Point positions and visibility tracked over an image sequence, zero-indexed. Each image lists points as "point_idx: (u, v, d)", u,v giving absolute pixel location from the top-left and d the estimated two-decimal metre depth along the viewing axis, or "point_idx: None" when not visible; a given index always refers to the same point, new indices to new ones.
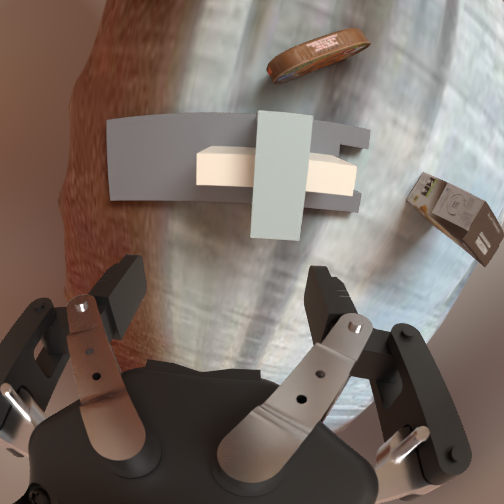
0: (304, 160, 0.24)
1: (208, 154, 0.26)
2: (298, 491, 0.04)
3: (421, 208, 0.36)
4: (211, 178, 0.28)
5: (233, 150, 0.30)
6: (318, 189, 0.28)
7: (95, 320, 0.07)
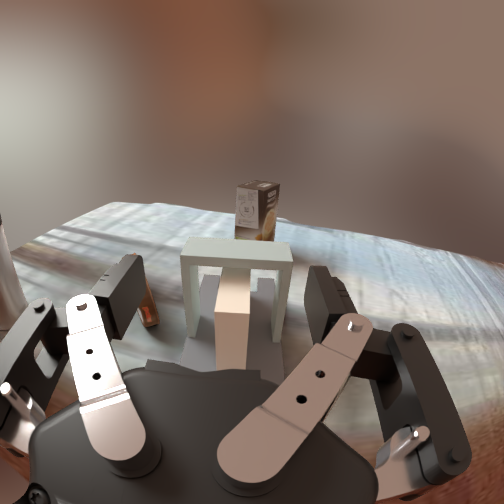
0: (223, 240, 0.34)
1: (216, 304, 0.27)
2: (298, 491, 0.04)
3: None
4: (242, 303, 0.27)
5: None
6: None
7: (95, 320, 0.07)
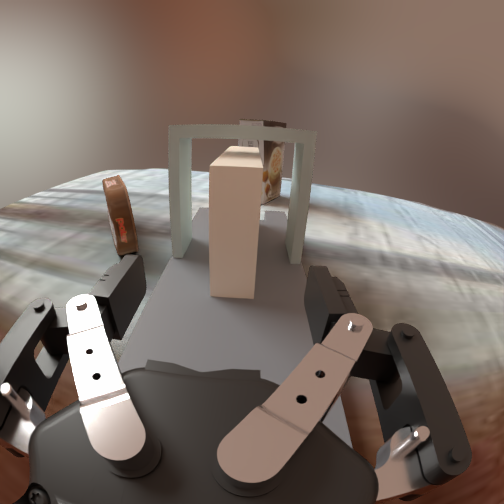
0: None
1: (213, 163, 0.18)
2: (298, 491, 0.04)
3: (264, 179, 0.49)
4: (251, 163, 0.18)
5: None
6: (255, 150, 0.28)
7: (95, 320, 0.07)
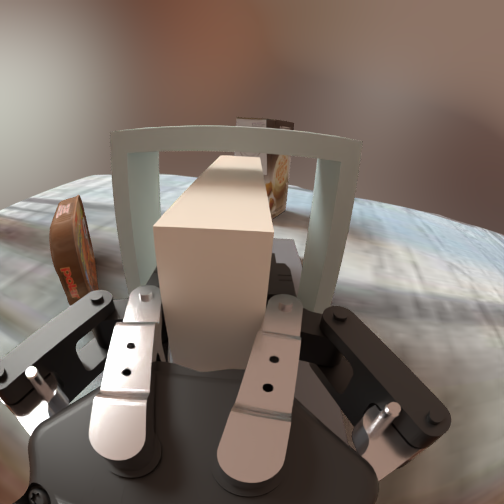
0: None
1: (168, 213, 0.08)
2: (298, 491, 0.04)
3: (267, 193, 0.40)
4: (247, 212, 0.09)
5: None
6: (256, 164, 0.19)
7: None
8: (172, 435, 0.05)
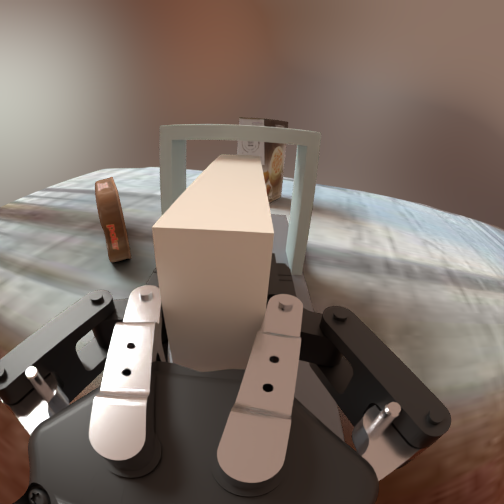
0: None
1: (167, 213, 0.08)
2: (298, 491, 0.04)
3: (265, 180, 0.47)
4: (247, 212, 0.09)
5: None
6: (256, 162, 0.19)
7: None
8: (172, 435, 0.05)
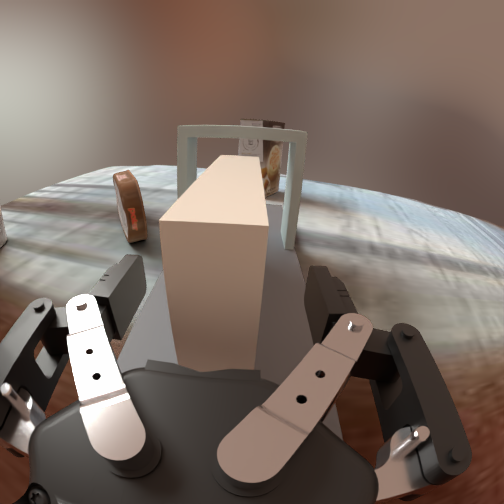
0: (226, 125, 0.28)
1: (172, 209, 0.09)
2: (298, 491, 0.04)
3: (263, 175, 0.52)
4: (245, 208, 0.10)
5: None
6: (255, 163, 0.20)
7: (95, 320, 0.07)
8: (160, 421, 0.05)
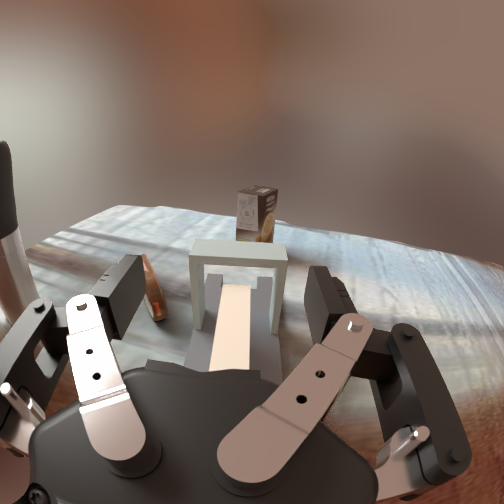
0: (226, 241, 0.38)
1: None
2: (298, 491, 0.04)
3: None
4: None
5: None
6: (247, 305, 0.30)
7: (95, 320, 0.07)
8: (160, 421, 0.05)
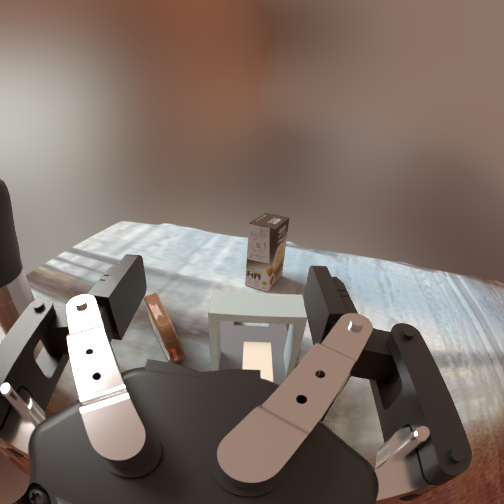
0: (244, 293, 0.38)
1: None
2: (298, 491, 0.04)
3: (269, 274, 0.62)
4: None
5: None
6: (269, 366, 0.29)
7: (95, 320, 0.07)
8: (160, 421, 0.05)
